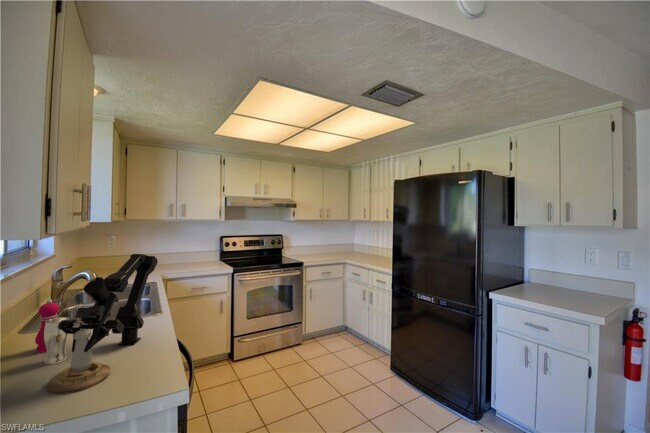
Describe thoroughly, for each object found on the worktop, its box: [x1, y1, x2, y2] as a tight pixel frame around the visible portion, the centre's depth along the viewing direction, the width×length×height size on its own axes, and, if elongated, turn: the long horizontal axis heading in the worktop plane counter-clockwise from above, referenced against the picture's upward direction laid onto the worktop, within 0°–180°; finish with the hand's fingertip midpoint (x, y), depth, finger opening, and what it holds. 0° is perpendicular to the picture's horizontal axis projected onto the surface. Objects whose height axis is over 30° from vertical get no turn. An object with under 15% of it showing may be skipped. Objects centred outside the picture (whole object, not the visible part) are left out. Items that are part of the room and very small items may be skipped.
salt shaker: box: [69, 329, 94, 373], centre depth 97 cm, size 6×6×13 cm
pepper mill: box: [34, 298, 60, 354], centre depth 117 cm, size 7×7×20 cm
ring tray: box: [46, 361, 111, 395], centre depth 97 cm, size 16×16×3 cm
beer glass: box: [44, 316, 70, 365], centre depth 108 cm, size 7×7×15 cm
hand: (78, 352), depth 96 cm, fingers closed on salt shaker, 3 cm apart
